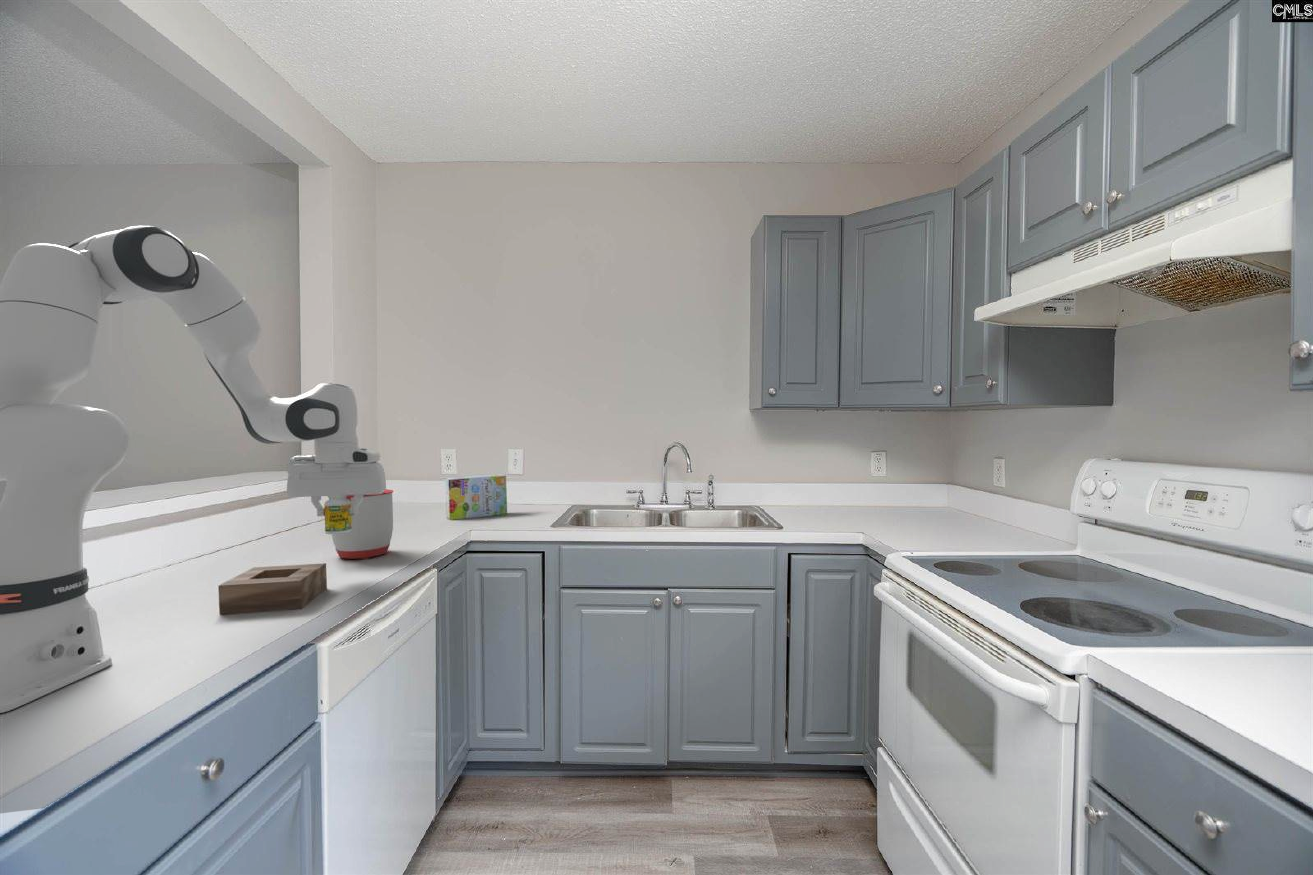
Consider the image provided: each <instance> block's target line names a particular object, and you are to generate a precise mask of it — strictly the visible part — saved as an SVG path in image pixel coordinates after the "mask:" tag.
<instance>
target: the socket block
mask: <svg viewBox="0 0 1313 875" xmlns="http://www.w3.org/2000/svg"><path fill="white" fill-rule="evenodd" d="M327 575H328V574H327V563H325V562H324V563H308V564H293V565H292V564H291V565H287V564H286V565H274V566H273V565H271V566H254V567H252V568H250V569H248V570H246V571H244V572H242V573H240V574H238V575H236V576H235V577H232V578H230V579H228V580H226V581H224V582H223V583H220V584H218V605H219V606H218V607H219V608H218V610H219V615H220V614H221V615H232V613H236V614H248V613H247V612H250V613H262V611H264V612H273V611H274V612H275V611H276V612H277V611H288V610H289V611H290V610H302V609H303V608H304V607H305V606H306V605H307V606H308V604H309V603H311V602H312V601H313V600H315V599H316V598H317V597H318V596H319V595H321V594H322V593H323V592H325V591H326V590H327V589H328V582H327V580H328V579H327V578H328V577H327Z"/></svg>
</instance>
